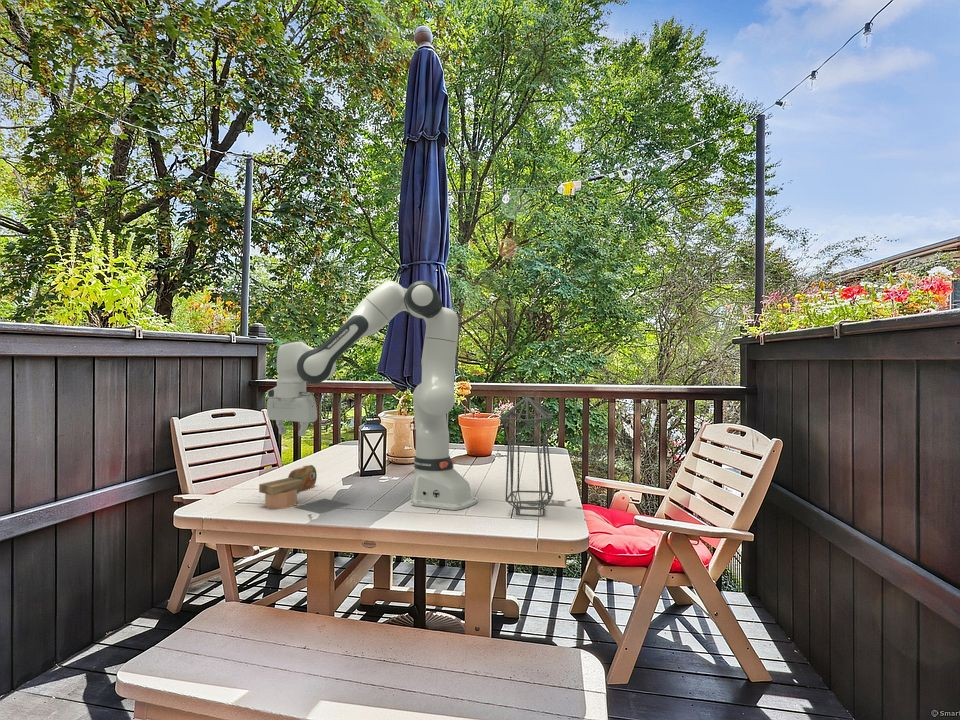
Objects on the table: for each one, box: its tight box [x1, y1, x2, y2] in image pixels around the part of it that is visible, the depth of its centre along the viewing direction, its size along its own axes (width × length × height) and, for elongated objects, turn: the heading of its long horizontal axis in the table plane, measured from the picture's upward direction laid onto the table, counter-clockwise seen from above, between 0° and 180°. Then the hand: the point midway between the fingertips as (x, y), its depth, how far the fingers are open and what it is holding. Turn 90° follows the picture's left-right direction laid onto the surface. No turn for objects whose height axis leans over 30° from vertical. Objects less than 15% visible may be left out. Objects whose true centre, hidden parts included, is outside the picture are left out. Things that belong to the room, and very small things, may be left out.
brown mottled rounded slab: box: [287, 464, 318, 495], centre depth 175 cm, size 15×3×8 cm, turn 168°
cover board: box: [258, 477, 303, 495], centre depth 156 cm, size 6×11×2 cm, turn 148°
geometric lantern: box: [499, 397, 555, 517], centre depth 151 cm, size 16×16×35 cm
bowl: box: [264, 489, 298, 510], centre depth 156 cm, size 9×9×5 cm
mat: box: [293, 498, 351, 515], centre depth 155 cm, size 12×12×1 cm
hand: (292, 435), depth 159 cm, fingers open, 8 cm apart
